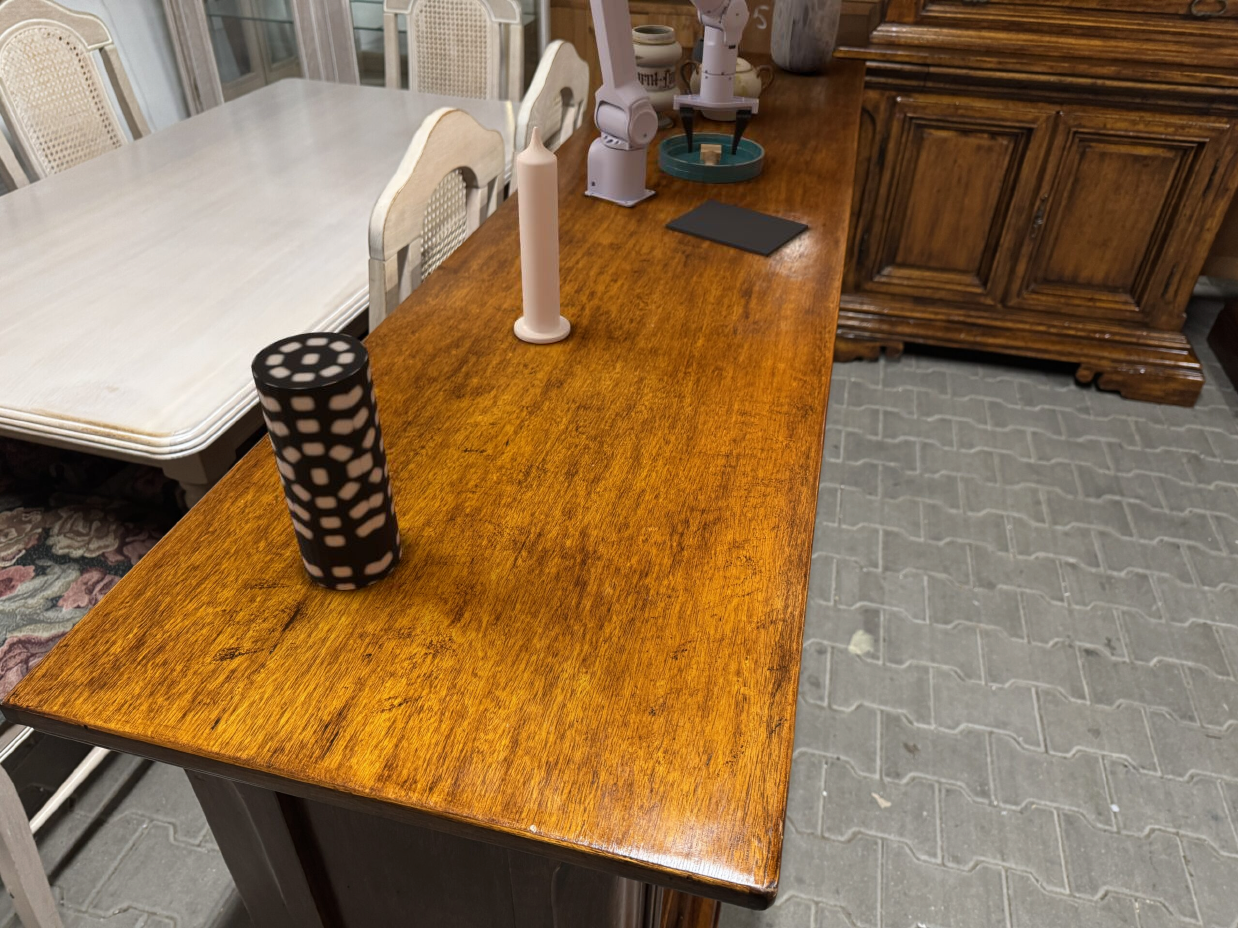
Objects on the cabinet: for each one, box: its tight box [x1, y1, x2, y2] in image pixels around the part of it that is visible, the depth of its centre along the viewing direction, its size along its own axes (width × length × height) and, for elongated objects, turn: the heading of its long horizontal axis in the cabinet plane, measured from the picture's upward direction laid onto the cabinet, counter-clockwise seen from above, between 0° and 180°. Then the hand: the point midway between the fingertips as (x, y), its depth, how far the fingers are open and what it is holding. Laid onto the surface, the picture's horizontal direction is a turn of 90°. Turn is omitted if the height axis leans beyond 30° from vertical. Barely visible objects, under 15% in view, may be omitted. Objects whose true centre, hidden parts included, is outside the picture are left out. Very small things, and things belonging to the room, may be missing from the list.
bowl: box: [657, 132, 766, 184], centre depth 160 cm, size 19×19×4 cm
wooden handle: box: [700, 144, 721, 165], centre depth 160 cm, size 14×4×2 cm, turn 175°
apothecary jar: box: [631, 24, 683, 129], centre depth 177 cm, size 12×12×18 cm
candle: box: [513, 126, 571, 345], centre depth 103 cm, size 7×7×25 cm
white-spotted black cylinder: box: [250, 331, 403, 591], centre depth 71 cm, size 8×8×20 cm
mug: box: [686, 37, 704, 95], centre depth 201 cm, size 12×9×11 cm
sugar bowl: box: [679, 43, 775, 122], centre depth 184 cm, size 20×15×15 cm
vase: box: [770, 0, 843, 74], centre depth 213 cm, size 16×16×30 cm
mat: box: [665, 199, 809, 258], centre depth 139 cm, size 18×14×1 cm
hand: (711, 152), depth 156 cm, fingers open, 7 cm apart
